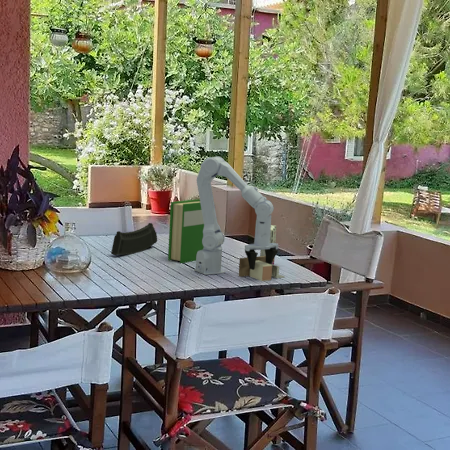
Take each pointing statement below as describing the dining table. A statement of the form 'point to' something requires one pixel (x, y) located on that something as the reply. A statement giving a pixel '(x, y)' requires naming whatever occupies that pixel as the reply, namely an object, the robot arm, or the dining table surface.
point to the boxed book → (261, 271)
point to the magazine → (134, 240)
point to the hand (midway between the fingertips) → (260, 268)
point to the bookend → (276, 272)
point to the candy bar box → (272, 240)
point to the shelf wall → (247, 265)
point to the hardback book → (185, 230)
